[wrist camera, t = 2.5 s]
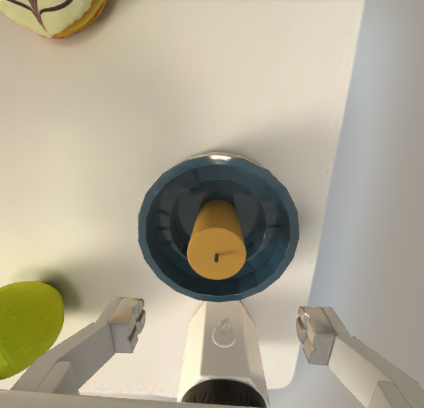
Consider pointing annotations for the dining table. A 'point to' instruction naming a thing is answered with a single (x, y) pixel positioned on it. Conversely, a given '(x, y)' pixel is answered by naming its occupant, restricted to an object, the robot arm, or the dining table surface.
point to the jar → (223, 358)
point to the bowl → (247, 213)
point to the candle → (217, 241)
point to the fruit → (27, 324)
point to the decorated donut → (53, 15)
